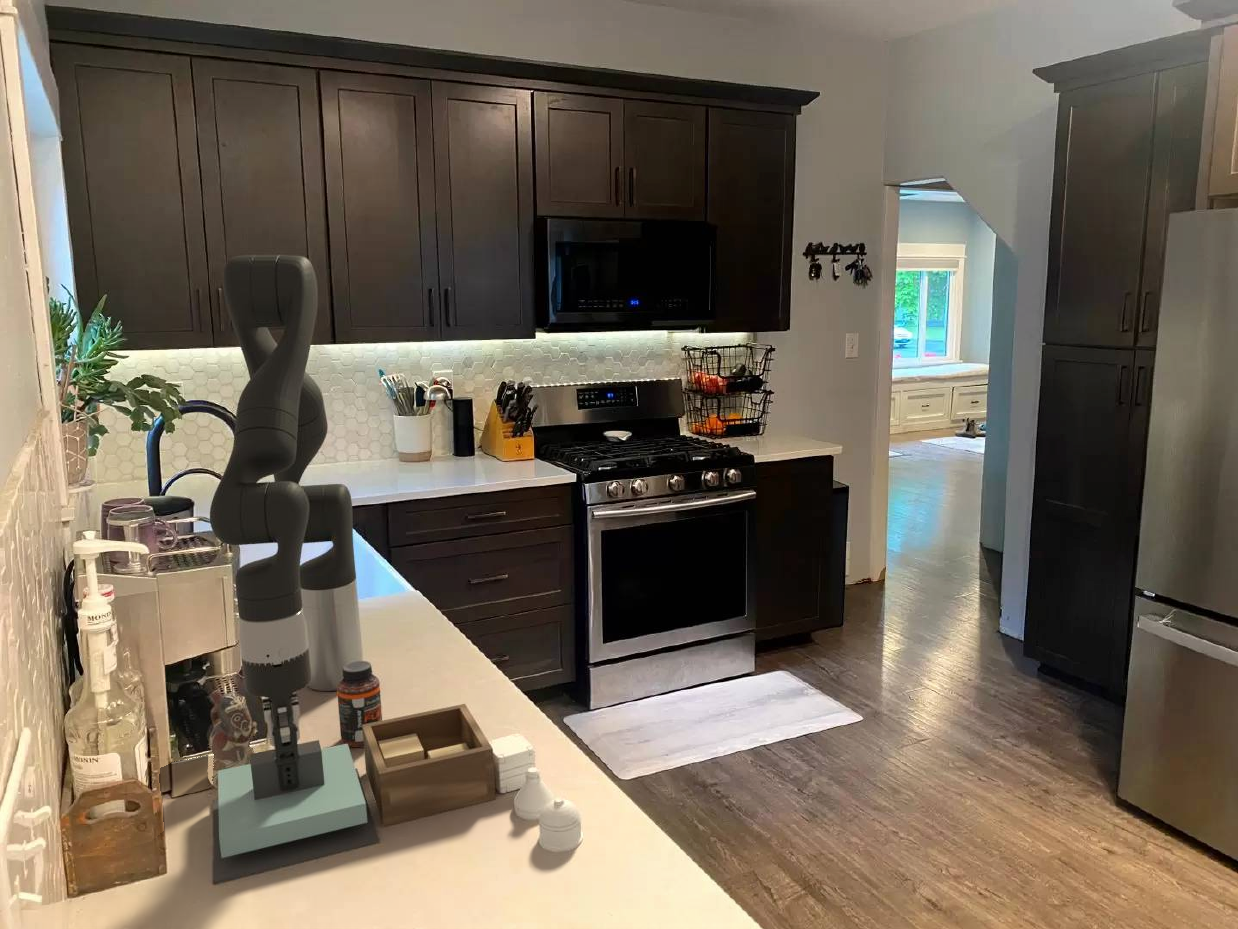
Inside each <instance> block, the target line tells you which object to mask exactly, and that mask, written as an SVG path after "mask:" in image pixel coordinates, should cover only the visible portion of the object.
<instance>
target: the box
mask: <svg viewBox="0 0 1238 929" xmlns="http://www.w3.org/2000/svg"><path fill="white" fill-rule="evenodd" d="M362 731H363V743H364V747H363V753H364V764H365V765H364V766H365V774H366V777H367V780H368V782H369V787H370V790H371V793H372V792H373V793H372V795H374V796H373V798H375V799H374V801H376V802H375V804H377V805H376V807H378V808H377V811H378V810H379V811H378V814H379V817H380V820H381V823H382V827H383V828H384V827H389V826H394V825H397V824H401V822H402V823H406V822H409V821H413V820H416V819H420V818H421V819H422V818H425V817H429V816H434V815H438V814H442V813H446V812H450V811H453V810H457V809H462V808H465V807H466V808H467V807H470V806H474V805H478V804H482V803H487V802H490V801H494V800H496V788H495V781H494V763H493V748H492V747H491V745H490V743H489V742H488V741H489V740H488V739H487V737H486V735H485V734H484V732H483V731H482V729H481V728H480V726H479V724H478V722H477V721H476V719H475V718H474V716H473V714H472V713H471V711H470V709H469V708H468V707H467V705H466V703H462V704H457V705H453V706H447V707H443V708H437V709H433V710H427V711H422V712H418V713H417V712H416V713H413V714H409V715H404V716H403V715H402V716H398V717H394V718H388V719H384V720H383V719H382V721H378V722H373V723H368V724H363V725H362Z"/></svg>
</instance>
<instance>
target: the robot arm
mask: <svg viewBox="0 0 1238 929" xmlns="http://www.w3.org/2000/svg"><path fill="white" fill-rule="evenodd" d="M316 276H317V275H316V273H315V269H314V267H313V265H312V263H311V261H310V260H309V259H308V258H307V257H305V256H303V255H302V256H301V255H291V254H290V255H289V254H288V255H287V254H261V255H260V254H254V255H253V254H252V255H251V254H250V255H249V254H246V255H237V256H232V257H230V258H229V259H228V260H227V261H226V263H225V264H224V265H223V270H222V287H223V294H224V299H225V304H226V306H227V311H228V313H229V317H230V320H231V323H232V327H233V328H234V332H235V335H236V338H237V340H238V343H239V346H240V350H241V352H242V355H243V359H244V362H245V363H246V364H245V365H246V369H247V371H248V375H249V380H248V381H247V384H246V385H245V387H244V388H243V390H242V392H241V394H240V396H239V399H238V401H237V402H238V403H237V407H236V414H235V423H234V424H235V425H234V435H233V436H234V437H233V446H232V450H231V453H230V457H229V460H228V463H227V465H226V467H225V469H224V473H223V474H222V477H221V479H220V481H219V484H218V485H217V487H216V490H215V492H214V495H213V498H212V501H211V503H210V504H211V505H210V509H209V524H210V527H211V530H212V532H213V533H214V536H215V537H216V538H217V539H218V540H219V541H220V542H221V543H223V544H226V545H230V546H244V545H245V546H247V545H262V544H275V543H276V544H277V550H276V553H275V554H273V555H271V556H268V557H265V558H261V559H257V560H254V561H252V562H251V561H250V562H249V563H246V564H244V565H242V566H241V567H239V569H238V570H237V571H236V574H235V580H234V581H235V592H236V593H235V594H236V600H237V601H236V602H237V609H238V610H237V612H238V620H239V621H238V623H239V624H238V641H239V650H240V659H241V668H242V676H243V677H242V678H243V685H244V686H243V688H244V690H245V691H246V692H247V694H249V695H251V696H254V697H258V698H261V699H262V708H263V715H264V722H265V723H266V725H267V731H268V741H269V745H270V746H272V747H274V749H275V756H276V757H274V759H275V764H277V766H278V776H279V785H280V790H281V791H288V790H292V789H296V788H298V787H299V776H298V766H297V762H299V758H300V756H299V753H298V745H297V744H298V741H299V740H300V739H301V734H300V724H299V723H300V722H299V717H300V715H301V711H300V704H299V700H298V694H297V691H300V690H302V689H304V688H305V687H306V686H308V688H310V689H311V690H315V691H320V692H330V691H332V692H333V691H337V685H338V683H339V682H340V681H341V680H342V679H343V678H344V677H343V666H344V665H346V664H348V663H350V662H355V661H364V657H363V655H364V653H363V643H362V631H361V620H360V619H361V618H360V608H359V598H358V597H359V596H358V586H357V573H356V561H355V549H354V532H353V531H354V530H353V529H354V527H353V526H354V523H353V522H354V520H353V515H354V514H353V503H352V502H353V501H352V496H351V493H350V490H349V488H348V487H347V486H346V485H345V484H343V483H330V484H329V483H328V484H314V485H313V484H312V485H300V483H301V482H300V481H301V479H302V476H303V475H304V473H305V470H306V469H307V468H308V466H309V465H310V463H312V461H313V459H314V458H315V456H316V455H317V454H318V453H319V451H320V449H321V448H322V446H323V445H324V441H325V440H326V437H327V434H328V429H329V428H328V427H329V426H328V420H327V419H328V418H327V414H326V409H325V404H324V402H325V401H324V397H323V394H322V391H321V388H320V387H319V385H318V384H317V382H316V381H315V380H314V379H313V378H312V376H311V375H310V374H309V373H308V372H306V368H307V365H308V359H309V355H310V350H311V346H312V341H313V335H314V330H315V325H316V319H317V314H318V302H319V301H318V300H319V298H318V297H319V294H318V293H319V292H318V282H317V277H316ZM269 328H284V331H283V334H282V336H281V338H280V340H279V342H278V343H277V342H276V341H275V339H274V338H273V336H272V334H271V332H270V330H269ZM272 475H273V479H274V481H265V482H259V481H261V480H262V479H264V478H266V477H269V476H272ZM325 542H327V543H328V542H329V543H330V542H332V546H331V547H330V549H328V550H327V551H325V552H324V553H322V554H320V555H318V556H315V557H314V558H312V559H309V560H307V561H305V562H303V563H302V564H301V559H302V558H301V557H302V550H303V544H309V543H310V544H313V543H325Z"/></svg>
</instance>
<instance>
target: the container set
mask: <svg viewBox="0 0 1238 929" xmlns="http://www.w3.org/2000/svg"><path fill="white" fill-rule="evenodd" d="M488 742H489V743H490V745H491V747H492V748H493V763H494V781H495V790H496V791H498V793H499V794H507V793H509V792H510V793H511V792H513V791H515V790H519V791H518V792H517V794H515V797H514V800H513V802H514V803H513V805H514V813H515V815H516V816H517V817H518V818H521V819H524V820H527V821H528V820H529V821H535V820H538V827H539V828H538V829H539V834H538V837H537V838H538V844H539V845H540V847H541V848H543V849H544V850H545V851H546V850H547V851H549V852H554V853H555V852H556V853H565V852H568V851H572V850H573V849H575V848H577V847H579V846H580V845H581V844H582V842H583V840H584V834H583V831H582V815H581V813H580V810H579V808H578V807H577V805H576V804H574V803H573V802H572V801H570V800H567V799H564V797H561V796H559V797H556V798H555V794H553V792H552V791H551V790H550V788H549V787H548V786H547V785H546V783H545V782H544V781H543V780H542V779H541V771H540V769H538V768H537V766H536V754H535V753H536V750H535V747H534V746H533V745H532V744H531V743H530V741H528V740H527V739H526V738H525V737H524V736H523V735H522V733H514V734H510V735H507V736H503V737H499V738H496V739H492V740H488Z"/></svg>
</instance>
